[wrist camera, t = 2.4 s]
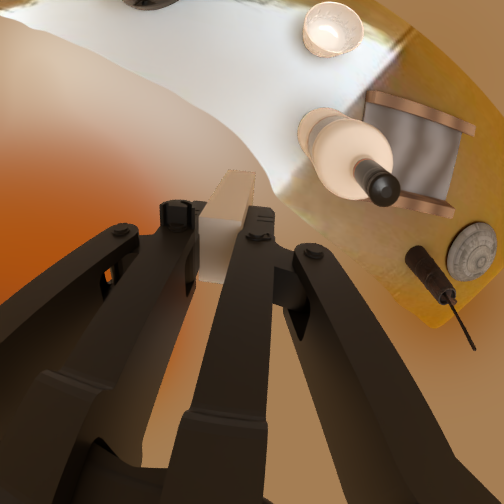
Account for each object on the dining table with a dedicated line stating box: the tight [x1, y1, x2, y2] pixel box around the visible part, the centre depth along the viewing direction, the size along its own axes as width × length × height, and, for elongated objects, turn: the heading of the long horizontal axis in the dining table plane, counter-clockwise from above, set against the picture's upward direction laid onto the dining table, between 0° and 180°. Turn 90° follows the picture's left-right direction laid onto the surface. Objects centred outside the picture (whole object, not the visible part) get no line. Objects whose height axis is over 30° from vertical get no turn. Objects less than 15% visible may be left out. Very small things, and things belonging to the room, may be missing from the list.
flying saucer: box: [447, 223, 497, 281], centre depth 50 cm, size 15×15×6 cm
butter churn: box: [405, 246, 476, 351], centre depth 43 cm, size 9×10×28 cm
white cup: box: [303, 2, 364, 58], centre depth 32 cm, size 8×8×10 cm
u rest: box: [360, 91, 476, 219], centre depth 42 cm, size 20×18×5 cm
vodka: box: [298, 108, 401, 207], centre depth 32 cm, size 9×9×30 cm
